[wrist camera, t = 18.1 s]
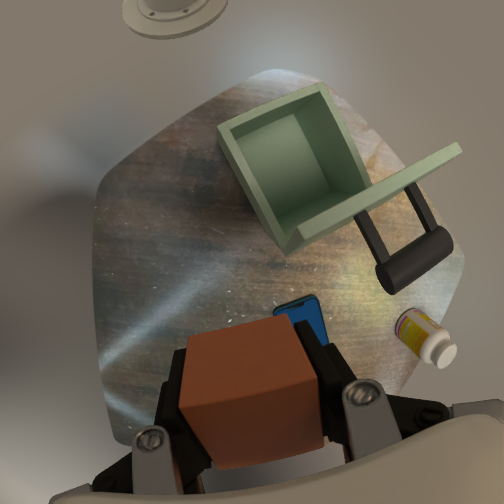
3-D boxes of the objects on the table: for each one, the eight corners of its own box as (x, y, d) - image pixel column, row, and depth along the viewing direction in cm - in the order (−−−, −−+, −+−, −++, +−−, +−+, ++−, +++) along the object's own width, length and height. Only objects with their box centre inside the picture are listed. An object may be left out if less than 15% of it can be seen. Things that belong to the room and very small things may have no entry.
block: (187, 335, 11) (177, 407, 7) (286, 312, 11) (317, 376, 7) (216, 402, 12) (218, 471, 8) (299, 383, 12) (324, 447, 8)
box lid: (295, 225, 13) (352, 335, 12) (456, 140, 12) (498, 225, 12) (282, 250, 27) (309, 302, 27) (378, 197, 27) (404, 245, 27)
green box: (217, 142, 35) (216, 126, 24) (293, 107, 35) (322, 81, 24) (264, 230, 39) (283, 252, 28) (336, 193, 39) (378, 200, 28)
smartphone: (295, 379, 46) (271, 312, 41) (294, 376, 47) (270, 309, 42) (334, 364, 46) (317, 295, 41) (332, 361, 47) (315, 292, 42)
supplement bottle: (395, 343, 48) (431, 380, 35) (393, 317, 46) (433, 352, 33) (421, 328, 48) (459, 361, 35) (420, 302, 46) (462, 332, 34)
